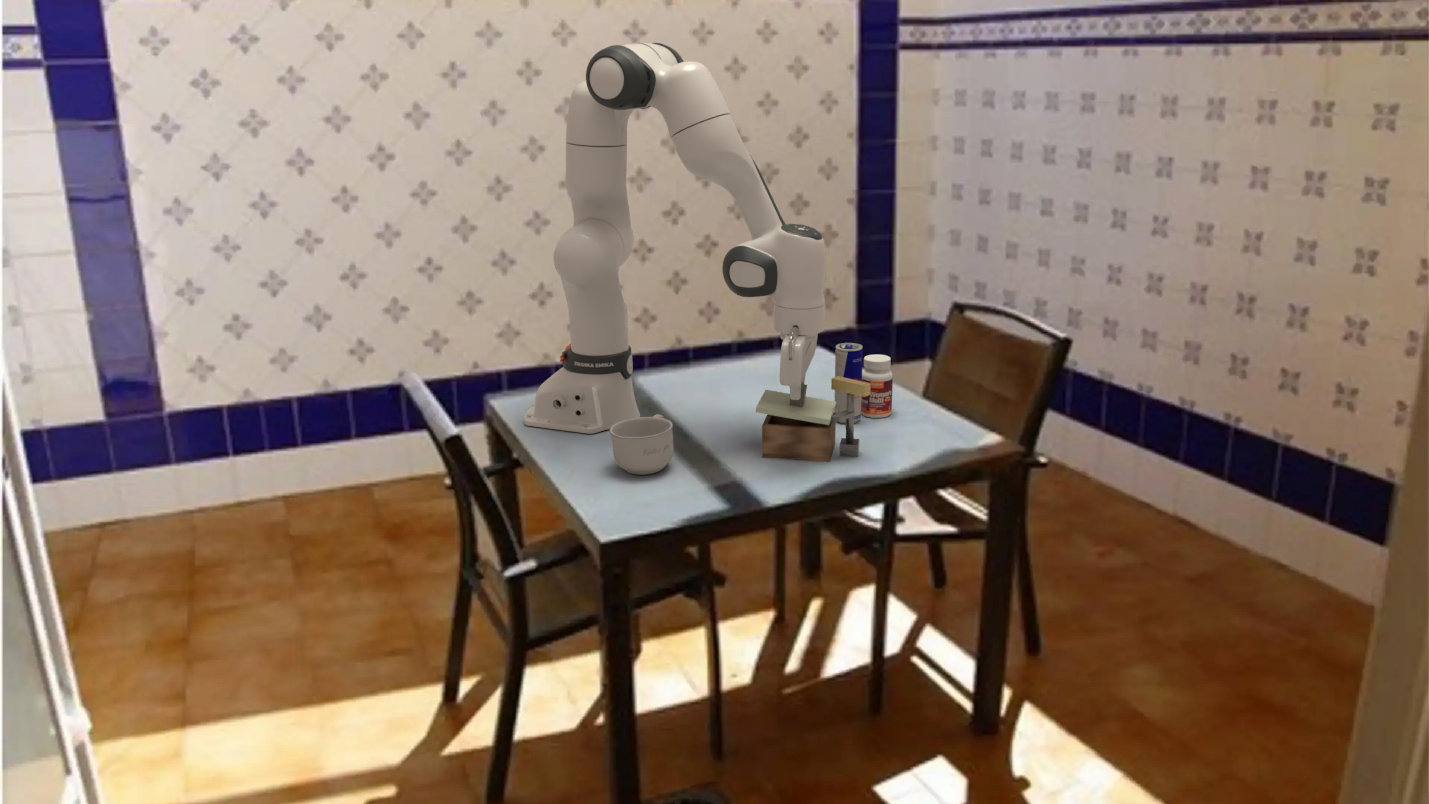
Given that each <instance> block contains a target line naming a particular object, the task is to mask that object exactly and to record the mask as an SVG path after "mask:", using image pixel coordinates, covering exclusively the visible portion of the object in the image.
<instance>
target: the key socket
mask: <svg viewBox="0 0 1429 804" xmlns="http://www.w3.org/2000/svg"><path fill="white" fill-rule="evenodd" d="M839 442H840V443H839V457H850V458H851V457H853V458H858V457H859V454H860V438H854V442H846V437H845V438H843V437H841V439H840V441H839Z"/></svg>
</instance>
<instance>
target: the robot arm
mask: <svg viewBox="0 0 1429 804" xmlns="http://www.w3.org/2000/svg"><path fill="white" fill-rule="evenodd" d="M569 99H570V100H569V105H568V111H567V119H566V131H565V132H566V133H565V187H566V189H567V191H568V193H569V197H570V201H571V202H570V203H571V207H572V213H573V226H571V227H570V228H568V229H567V230H565V231H564V232H563V234H562V235H561V237H560V238H559V240H558V242H557V244H556V246H555V248H554V252H553V264H554V267H555V269H556V272H557V273H558V275H559V276H560V280H561V285H562V287H563V291H564V296H565V300H566V304H567V308H568V318H569V319H568V320H569V335H570V336H569V337H570V343H569V344H568V345H567V346H566V347H565V349H564V351H562V352H561V355H559V363H562V367H561V368H559V369H558V370H557V371H556V372H554V373H553V374H552V375H550V377H548V378H547V379H546V380H544V381H543V383H541V384H540V386H539V387H538V389H537V391H536V394H535V398H534V404H533V405H532V406H531V407H530V408H528V409H527V410H526V412H525V413H524V415H523V424H524V425H525V426H528V427H536V428H542V429H543V428H544V429H549V430H551V429H552V430H556V431H558V430H559V431H566V432H574V433H581V434H589V435H591V434H596V433H600V432H602V431H606V430H610V428H611V427H612V426H613V425H614V424H616V423H618V422H621V421H624V420H627V419H631V418H638V417H641V414H640V411H639V408H638V404H637V402H636V397H635V393H634V392H635V391H634V387H633V380H632V375H633V371H634V369H633V365H634V364H633V355H632V348H631V346H630V344H629V343H630V341H629V320H628V319H629V318H628V317H629V315H628V307H627V303H626V302H625V300H624V297H623V296H624V295H623V293H622V288H621V283H620V279H619V278H620V277H619V270H620V269H619V268H620V267H621V266H622V265H624V264H625V262H627V260H628V259H629V257H630V255H631V253H632V249H633V246H634V233H633V229H632V223H631V222H632V221H631V214H630V206H629V201H628V200H629V199H628V192H627V191H628V190H627V166H628V165H627V164H628V163H627V162H628V161H627V159H628V157H627V155H628V124H629V119H630V116H631V114H633V112H634V111H635V110H637V109H638V110H645V109H648V108H650V107H651V108H654V109H656V110H657V111H658V112H659V113H660V114H661V116H662V118H663V119H664V122H665V123H666V127H667V130H668V133H669V135H670V138H671V141H672V144H673V147H674V149H675V151H676V154H677V156H678V158H679V159H680V161H681V163H682V164H683V166H684V168H686V170H687V171H688V172H689V173H691V174H692V175H694V176H695V177H698V178H700V179H703V180H706V181H709V182H712V183H714V184H716V185H718V186H720V187H722V188H724V190H726V191H727V192H728V193H729V194H730V195H731V196H732V198H733V199H734V201H735V203H736V205H737V207H738V209H739V211H740V213H741V216H742V218H743V220H744V222H745V224H746V226H747V228H748V231H749V232H750V235H751V239H749V240H747V241H745V242H742V243H740V244H737V245H735V246H733V247H732V248H731V249H729V251H728V252H727V253H726V254H725V256H724V258H723V262H722V267H721V268H722V271H721V272H722V277H723V280H724V282H725V284H726V286H727V287H728V288H729V290H730V291H731V292H732V293H734V294H735V295H737V296H739V297H741V298H758V297H767V296H770V297H772V298H773V330H774V331H776V333H780V339H781V340H782V342H781V348H780V359H779V361H780V363H779V383H780V385H781V386H786V387H787V386H788V387H789V392H790V393H789V394H790V398H791V399H792V400H799V399H800V398H801V384H805V381H806V375H807V372H808V370H809V367H810V365H811V362H812V360H813V359H814V356H815V354H816V349H817V343H818V342H817V341H818V337H819V336H818V334H820V333H822V332H823V331H824V330H825V321H826V320H825V317H826V316H825V315H826V314H825V313H826V297H825V295H824V288H825V287H824V286H825V283H826V279H827V258H826V257H827V255H826V254H827V253H826V244H825V240H824V237H823V234H822V233H821V232H820V231H818V230H817V229H816V228H814V227H811V226H809V225H805V224H801V223H799V224H797V223H787V224H786V222H785V221H784V219H783V217H782V215H781V213H780V211H779V210H780V209H778V207H777V204H776V202H775V200H774V198H773V196H772V194H771V192H770V190H769V187H768V185H767V183H766V181H765V179H764V177H763V175H762V173H761V171H760V169H759V167H758V165H757V163H756V162H755V160H754V159H753V156H752V155H751V154H750V153H749V151H748V149H747V147H746V145H745V144H744V142H743V139H742V137H741V136H740V133H739V131H738V129H737V126H736V123H735V122H734V118H733V116H732V114H731V111H730V108H729V106H728V104H727V101H726V99H725V98H724V94H723V93H722V91H721V89H720V87H719V85H718V83H717V82H716V79H715V78H714V76H713V75H712V73H711V72H710V70H709V68H707V66H706V65H704V64H703V63H701V62H700V61H699V62H697V61H694V60H693V61H692V60H691V61H690V60H689V61H684V60H683V57H682V56H681V55H680V54H679V52H677V50H675V49H674V48H672V47H671V46H669V45H666V44H664V43H661V42H652V43H651V42H644V41H642V42H641V41H634V42H629V43H627V44H626V43H625V44H621V45H619V44H615V45H614V44H612V45H609V46H607V47H604V48H603V49H600V50H598V51H597V52H596V53H595V54H594V55H593V56H592V57H591V58H590V60H589V62H588V64H587V67H586V71H585V80H583V81H582V82H579V83H578V84H577V85H576V86H574V88H573V89H572V91H571V96H570V98H569Z"/></svg>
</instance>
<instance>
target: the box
mask: <svg viewBox="0 0 1429 804" xmlns="http://www.w3.org/2000/svg"><path fill="white" fill-rule="evenodd" d="M835 414H836V412H834V413H833V415H835ZM833 415H832V416H833ZM836 425H837V421H833V420H831V421H830V424H829V425H825V424H820V423H813V422H807V421H802V420H796V419H790V418H785V417H779V416H773V415H769V414H766V416H765V419H764V420H763V423H762V425H761V458H765V459H767V458H768V459H784V460H785V459H786V460H798V461H799V460H800V461H802V460H803V461H820V462H830V461H831V459H832V455H833V452H834V449H835V446H836V427H837V426H836Z"/></svg>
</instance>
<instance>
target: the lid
mask: <svg viewBox="0 0 1429 804" xmlns="http://www.w3.org/2000/svg"><path fill="white" fill-rule="evenodd" d="M807 389H808V384H805V383H804V384H801V398H800V399H799V400H792V399H791V398H790V393H787V392H781V391H776V390H772V389H770V390H769V389H765V390H764V392H763V393H762V395H761V397H760V399H759V401H758V402H757V405H756V407H755V413H757V414H758V413H759V414H763V415H764V414H765V415H767V414H769V415H773V416H779V417H785V418H790V419H796V420H802V421H807V422H813V423H820V424H825V425H829V424H830V421H831V416H832V415H833V413H834V410H835V407H836V402H835V400H834V401H833V400H828V399H823V398H817V397H811V396H807V395H806V394H807Z"/></svg>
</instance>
